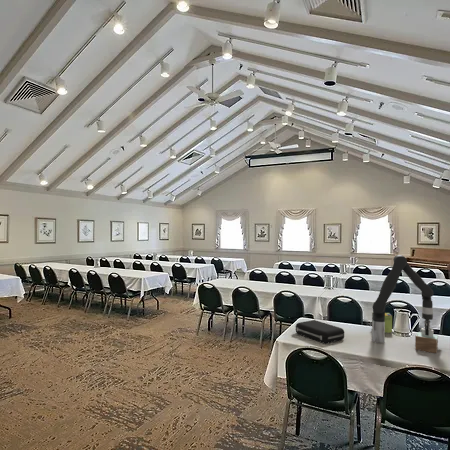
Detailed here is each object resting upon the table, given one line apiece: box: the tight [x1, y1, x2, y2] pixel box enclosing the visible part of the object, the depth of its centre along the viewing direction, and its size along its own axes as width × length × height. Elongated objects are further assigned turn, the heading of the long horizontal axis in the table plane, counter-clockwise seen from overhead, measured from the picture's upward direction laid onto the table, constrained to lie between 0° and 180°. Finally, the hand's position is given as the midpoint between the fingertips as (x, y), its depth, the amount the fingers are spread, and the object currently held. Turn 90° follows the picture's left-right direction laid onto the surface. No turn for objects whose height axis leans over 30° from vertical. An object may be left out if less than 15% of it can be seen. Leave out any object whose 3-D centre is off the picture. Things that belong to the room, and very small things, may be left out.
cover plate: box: [416, 327, 439, 341], centre depth 280 cm, size 14×14×6 cm
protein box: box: [371, 311, 393, 334], centre depth 324 cm, size 10×15×16 cm
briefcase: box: [295, 319, 345, 345], centre depth 306 cm, size 36×32×10 cm
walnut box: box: [414, 335, 439, 354], centre depth 276 cm, size 16×14×10 cm
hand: (427, 334), depth 280 cm, fingers closed on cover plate, 4 cm apart
